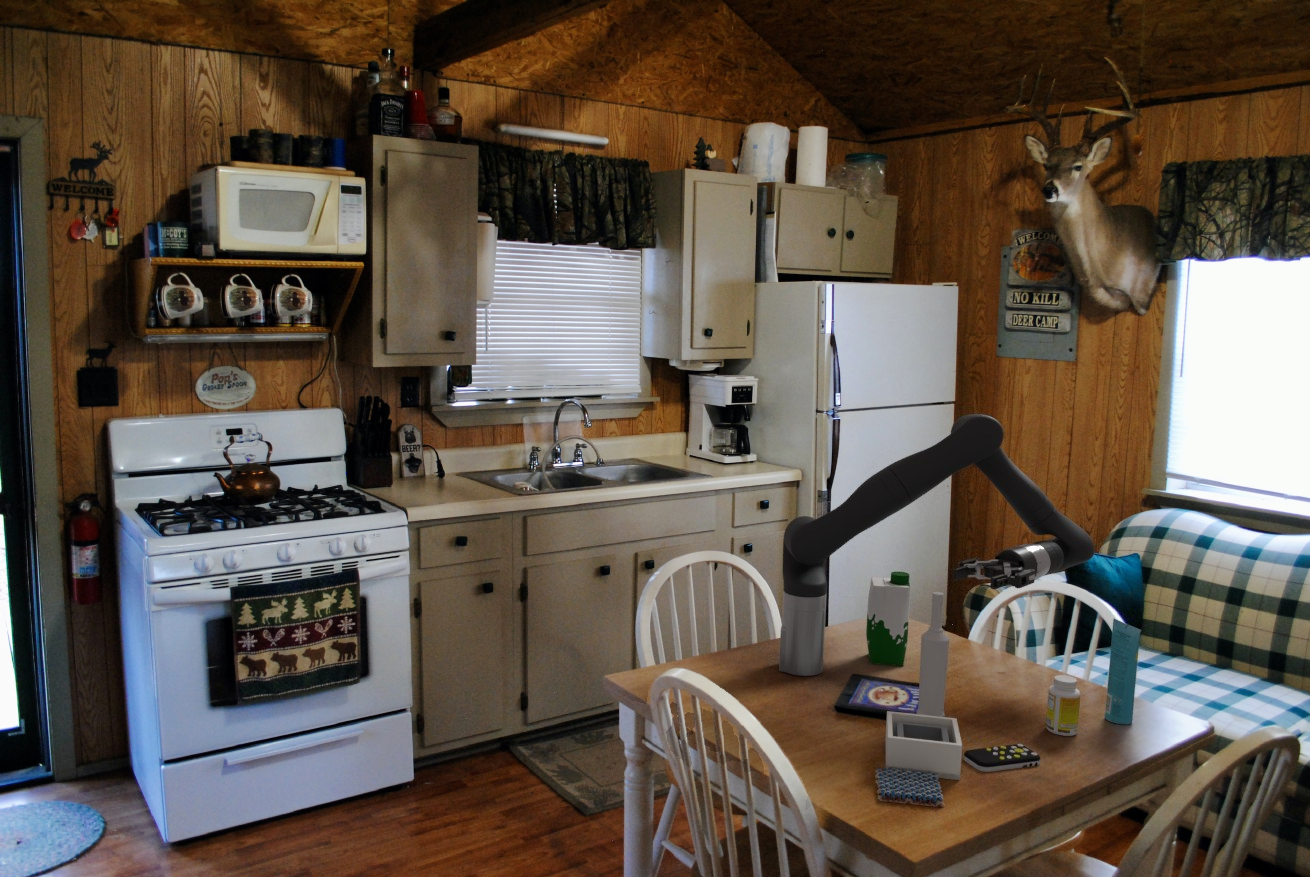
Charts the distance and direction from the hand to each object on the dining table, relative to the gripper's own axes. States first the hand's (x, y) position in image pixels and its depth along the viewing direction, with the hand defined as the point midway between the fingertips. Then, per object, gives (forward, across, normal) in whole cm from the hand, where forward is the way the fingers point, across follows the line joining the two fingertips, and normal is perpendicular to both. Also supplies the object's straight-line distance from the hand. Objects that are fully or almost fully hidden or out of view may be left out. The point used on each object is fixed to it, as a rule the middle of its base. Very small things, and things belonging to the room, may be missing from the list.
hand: (973, 579), depth 196 cm
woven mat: (+39, +16, +25) cm, 49 cm away
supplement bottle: (-5, +16, +27) cm, 32 cm away
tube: (-19, +19, +28) cm, 39 cm away
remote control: (+16, +18, +26) cm, 36 cm away
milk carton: (-8, -29, +26) cm, 40 cm away
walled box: (+28, +10, +25) cm, 39 cm away
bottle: (+13, 0, +26) cm, 29 cm away
